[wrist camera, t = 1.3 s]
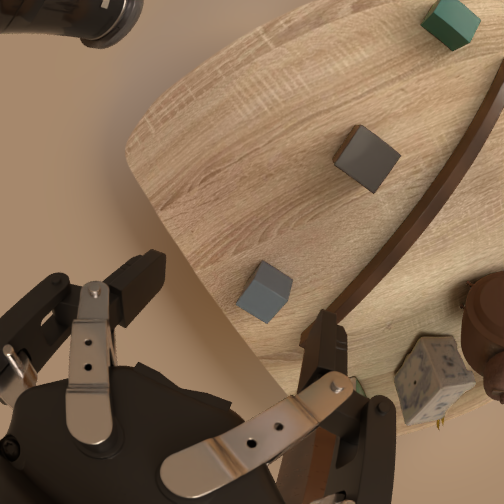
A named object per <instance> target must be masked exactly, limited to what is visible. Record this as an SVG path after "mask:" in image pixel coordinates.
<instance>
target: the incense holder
mask: <svg viewBox="0 0 504 504" xmlns="http://www.w3.org/2000/svg"><path fill="white" fill-rule="evenodd" d="M394 380H395V381H394V383H395V386H396V390H397V393H398V397H399V400H400V405H401V409H402V413H403V416H404V422H405V424H406V425H409V426H410V425H414V424H420V423H426V422H431V421H434V420H439V419H442V418H443V417H444V416H445V411H446V410H447V409H448V408H449V407H450V406H451V405H452V404H454V403H455V402H456V401H457V400H458V399H459V397H460V396H462V395H463V393H464V392H465V391H467V390H470V389H472V388H473V387H474V385H475V384H476V381H475V378H474V374H473V372H472V371H468V370H467V369H466V367H465V364H464V362H463V360H462V358H461V356H460V354H459V352H458V350H457V343H456V341H455V339H454V337H453V336H452V337H450V336H447V337H421V338H420V339H419V340H418V341H417V343H416V345H415V346H414V348H413V350H412V352H411V353H410V354H407V355H406V358H405V360H404V364H403V365H402V367H401V368H400V369H399V371H398V372H397V373H396V375H395V377H394Z"/></svg>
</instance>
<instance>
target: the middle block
mask: <svg viewBox="0 0 504 504" xmlns="http://www.w3.org/2000/svg"><path fill="white" fill-rule="evenodd" d="M400 157H401V155H400V154H399V153H398V152H397V151H395V150H394V149H393V148H392V147H390V146H389V145H388V144H387V143H385V142H384V141H383V140H382V139H380V138H379V137H378V136H376V135H375V134H374V133H372V132H371V131H370V130H368V129H367V128H366V127H364V126H363V125H355V126H354V128H353V129H352V131H351V132H350V134H349V135H348V137H347V138H346V140H345V141H344V143H343V144H342V146H341V147H340V149H339V150H338V151H337V153H336V154H335V156H334V157H333V162H334V165H335V166H336V167H338V168H339V169H341V170H342V171H343V172H345V173H346V174H348V175H349V176H350V177H352V178H353V179H355V180H356V181H357V182H359V183H360V184H361V185H363V186H364V187H365V188H367V189H368V190H369V191H370V192H372V193H373V194H374V193H375V192H376V190H377V189H378V188H379V186H380V185H381V184H382V182H383V181H384V179H385V178H386V177H387V175H388V174H389V172H390V171H391V170H392V168H393V167H394V165H395V164H396V163H397V161H398V160H399V158H400Z"/></svg>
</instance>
